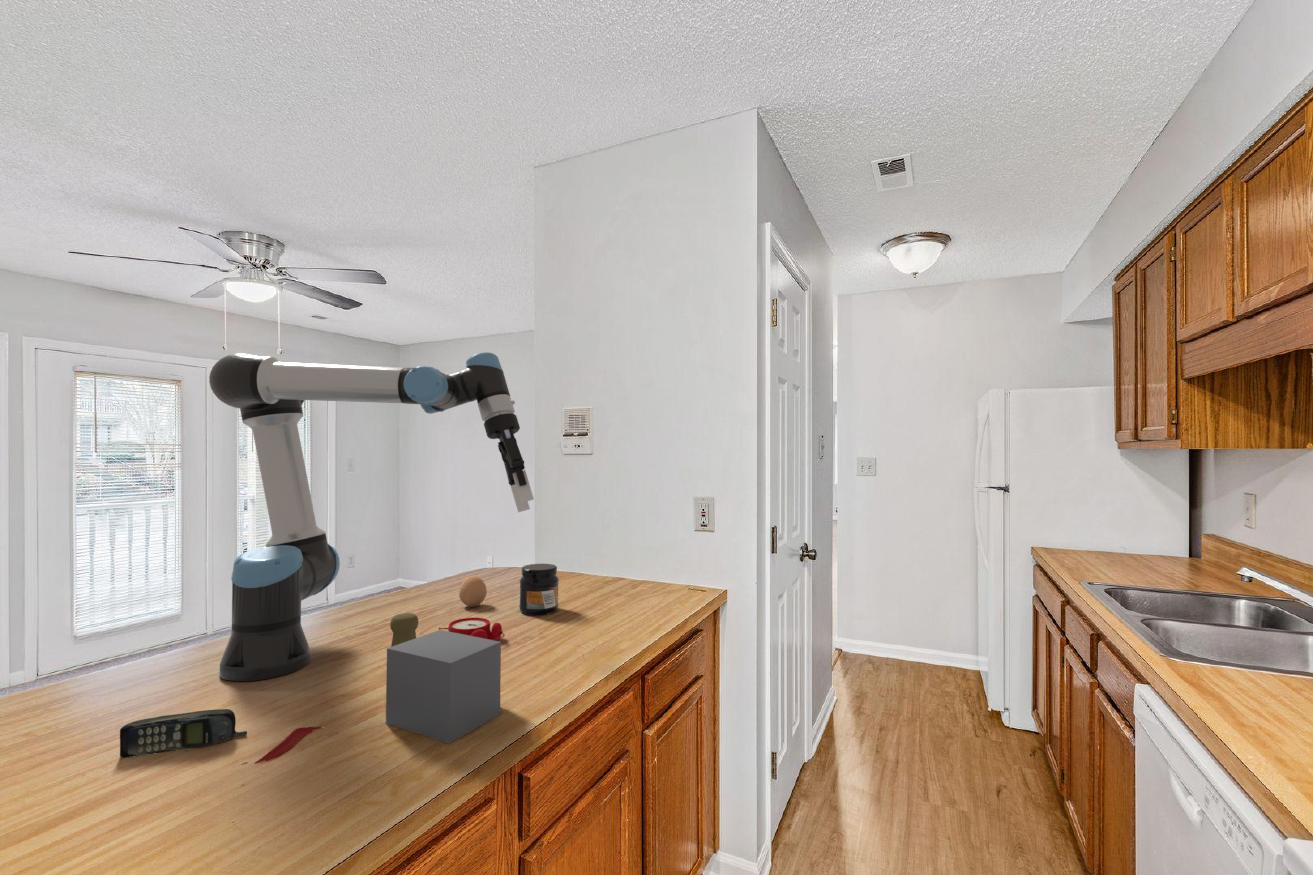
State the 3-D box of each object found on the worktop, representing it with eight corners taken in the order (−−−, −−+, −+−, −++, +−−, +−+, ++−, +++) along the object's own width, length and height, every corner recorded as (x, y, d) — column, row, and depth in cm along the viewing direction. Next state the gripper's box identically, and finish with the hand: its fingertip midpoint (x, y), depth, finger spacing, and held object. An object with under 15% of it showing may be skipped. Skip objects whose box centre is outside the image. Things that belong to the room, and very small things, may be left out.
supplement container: (554, 616, 155) (555, 570, 155) (514, 616, 155) (515, 570, 155) (561, 605, 165) (561, 563, 166) (524, 605, 166) (524, 562, 166)
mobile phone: (116, 728, 83) (242, 708, 88) (126, 718, 86) (248, 700, 91) (116, 763, 83) (243, 742, 88) (127, 753, 86) (248, 732, 91)
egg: (478, 610, 160) (478, 579, 160) (453, 608, 161) (454, 577, 162) (491, 603, 167) (491, 573, 167) (467, 602, 169) (467, 572, 169)
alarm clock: (465, 615, 143) (512, 609, 137) (469, 641, 142) (517, 636, 136) (431, 627, 134) (480, 621, 127) (435, 655, 133) (485, 650, 127)
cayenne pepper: (318, 726, 94) (318, 714, 94) (336, 733, 92) (337, 720, 92) (236, 761, 83) (237, 747, 83) (255, 770, 81) (256, 756, 81)
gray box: (449, 743, 88) (450, 663, 88) (385, 723, 94) (386, 648, 95) (500, 714, 98) (500, 641, 98) (439, 697, 104) (440, 629, 104)
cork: (426, 667, 119) (427, 612, 119) (402, 677, 113) (403, 620, 113) (405, 662, 121) (405, 608, 121) (380, 672, 116) (381, 616, 116)
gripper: (518, 396, 124) (546, 491, 120) (513, 429, 147) (537, 509, 144) (482, 404, 122) (510, 501, 118) (483, 436, 145) (507, 518, 141)
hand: (525, 506), depth 131 cm, fingers open, 13 cm apart
